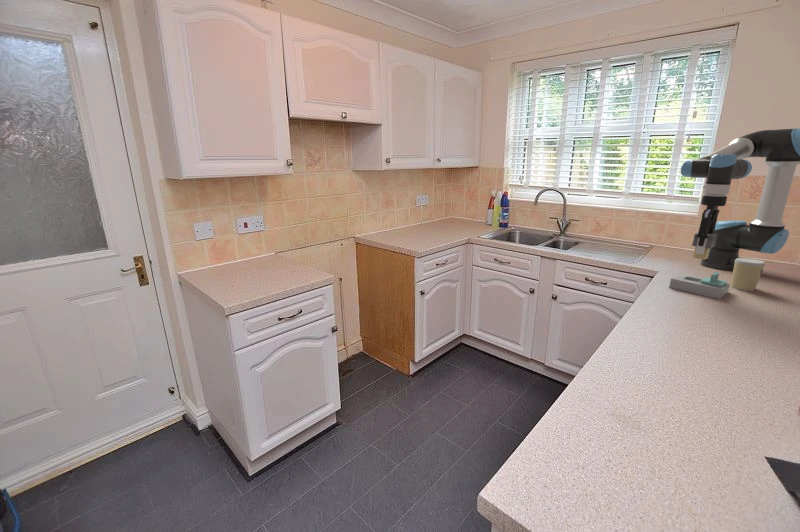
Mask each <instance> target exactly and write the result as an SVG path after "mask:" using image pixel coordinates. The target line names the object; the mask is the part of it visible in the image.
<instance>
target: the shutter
mask: <svg viewBox="0 0 800 532" xmlns="http://www.w3.org/2000/svg"><path fill="white" fill-rule="evenodd" d="M719 275H720V272H717V271H714V273H711V274H710V277H708V276H707V277H706V276H705V277H702V278H703V279H702V280H700V282H701V283H706V284H711V285H716V286H721V287H722V286H723V285H725V284H726V283H727V282H728V281H726V280H723V279H719Z"/></svg>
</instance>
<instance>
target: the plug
mask: <svg viewBox="0 0 800 532" xmlns="http://www.w3.org/2000/svg"><path fill="white" fill-rule="evenodd" d="M697 235H698V232H696V233H694V236H693V240H692V241H693V242H692V245H691V246H692V247H694V252H693V255H692V258H693V259H698V260H702V259H703V260H706V259H707V258H708V256H709V251H710V249H711V248H712V247H714V246H715V242H716V238H717V234H711V233H708V235H707V242H706V247H705V251H704V254H697V253H695V251H696V247H697V242H698V237H696V236H697Z"/></svg>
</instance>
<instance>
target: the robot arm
mask: <svg viewBox="0 0 800 532" xmlns="http://www.w3.org/2000/svg"><path fill="white" fill-rule="evenodd" d="M746 158H747V159H748V158H765V161H764V162H765V163H766V164H767V165H768V167H767V172H766V176H765V180H764V183H763V186H762V192H761V195H760V200H759V204H758V208H757V211H756V215H755V218H754V219H753V220H751V221H749V224H747V223H748V222H747V221H746V220H719V221H718V216H719V213H720V209H719V207H724V206H725V207H726V204H727V200H728V196H727V195H729V192H730V188H731V185H732V184H731V183H732V180H739V179H743V178H746V177H747V176H749V175H750V173H751V172H752V169H753V166H752V163H751V162H750V161H749V160H747V159H746ZM799 164H800V128H798V127H796V128H783V129H764V130H759V131H758V130H757V131H754V132H751V133H748V134H745V135H741V136H740V137H737V138H735V139H733V140H732V141H731V142H730V143H729V144H728V145H726V146H723V147H721V148H719V149H717V150H715V151H712V152H711V153H709V154H706V155H704V156H701V157H699V158H689V159H686V160H684V161H683V162H682V163H681V167H680V174H681V176H682V177H684V178H695V179H696V178H698V179H699V178H700V179H703V178H704V179H706V181H705V185H703V186H702V188H703V189H704V190H703V194H704V195H702V198H701V202H700V204H701V205H702V206H706V208H705V209H704V210H703V212H702V213H701V221H700V224H699V227H698V232H697V233H698V235H697V236H696V237H698V242H697V247H696V246H695V247H696V251H695V250H694V252H695V253H697V254H704V251H705V247H706V242H707V235H708V233H711V234H717V238H716V242H715V246H714V247H712V248H711V249H710V251H709V256H708V258H707V259H706V260H703V259H700V265H702V266H704V267H707V268H711V269H717V270H725V271H733V269H734V264H735V260H736V259H737V258H740V256H739V253H740V250H747V251H752V252H757V253H760V254H769V255H770V254H771V255H772V254H773V255H774V254H777V253H778V252H779V251H780V250H781V249H782V248H783V247H784V246H785V245H786V243H787V241H788V238H789V234H790V232H789V231H790V230H788V229H786V228H785V226H786V223H784V222H783V215H784V212H785V209H786V204H787V202H788V198H789V194H790V191H791V186H792V184H793V180H794V177H795V176H794V175H795V172H796V169H797V166H798V165H799Z"/></svg>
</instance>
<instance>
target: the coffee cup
mask: <svg viewBox="0 0 800 532" xmlns="http://www.w3.org/2000/svg"><path fill="white" fill-rule="evenodd" d="M765 266H766V263H765V261H763V260H760V259H755V258H750V257H749V258H747V257H739V258H737V259H736V260H735V264H734V269H733V270H732V277H731V282H730V287H731V288H733V289H737V290H740V291H745V292H746V291H749V292H750V291H751V292H753V291H756V288H757V286H758V283H759V281H760V278H761V275H762V273H763V270H764V267H765Z"/></svg>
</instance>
